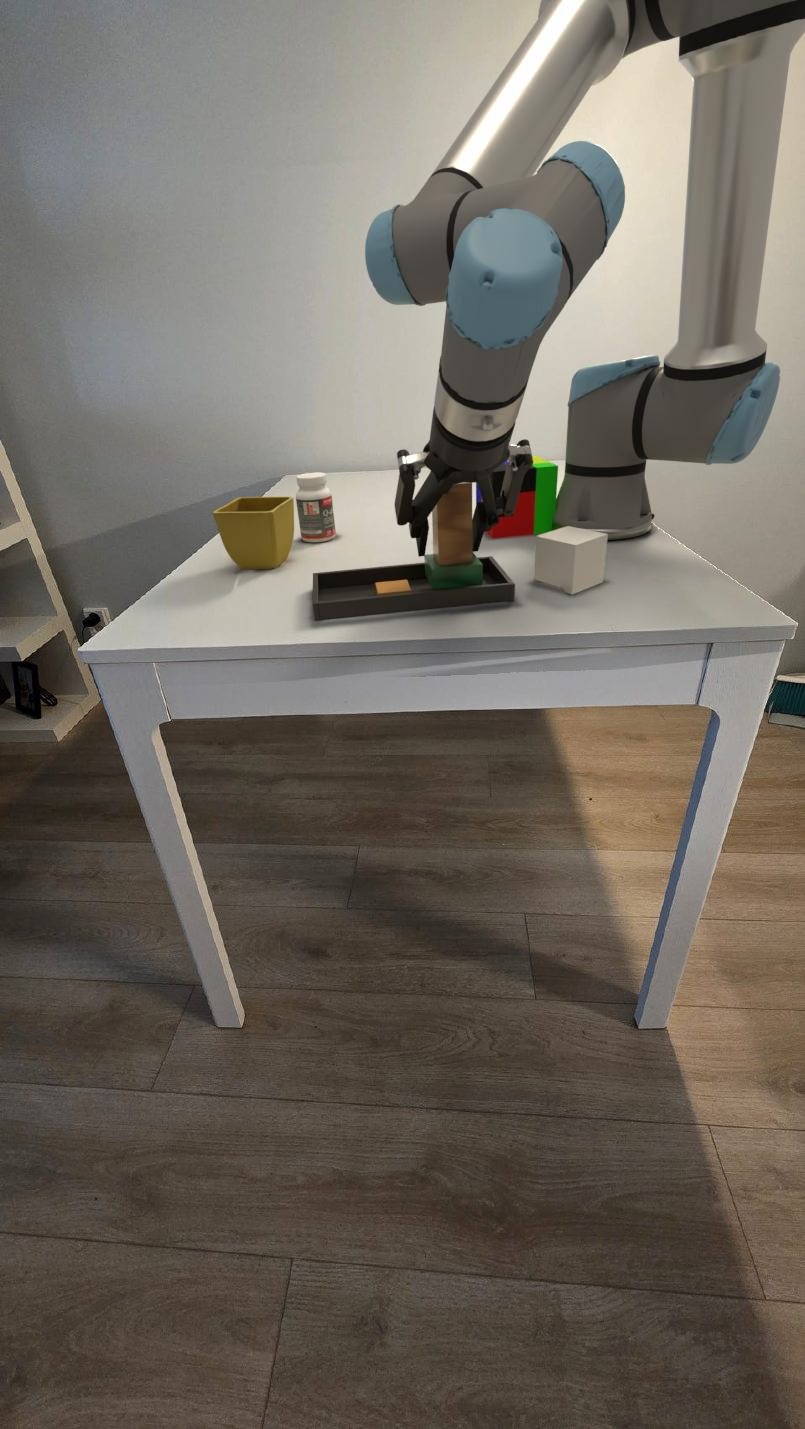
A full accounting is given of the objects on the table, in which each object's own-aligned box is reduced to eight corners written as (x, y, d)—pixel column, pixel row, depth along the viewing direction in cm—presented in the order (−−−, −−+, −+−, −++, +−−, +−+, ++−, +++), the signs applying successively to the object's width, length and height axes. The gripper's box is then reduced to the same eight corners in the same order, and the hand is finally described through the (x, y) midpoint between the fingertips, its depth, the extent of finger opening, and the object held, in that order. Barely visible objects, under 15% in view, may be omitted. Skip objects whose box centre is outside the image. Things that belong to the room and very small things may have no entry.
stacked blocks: (471, 569, 81) (471, 474, 75) (482, 585, 76) (483, 483, 70) (424, 574, 80) (420, 478, 75) (432, 590, 75) (428, 488, 70)
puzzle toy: (475, 524, 108) (476, 461, 103) (533, 518, 109) (536, 455, 104) (491, 539, 100) (492, 471, 94) (554, 533, 101) (558, 465, 95)
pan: (491, 575, 84) (491, 556, 83) (514, 605, 75) (515, 583, 74) (315, 592, 83) (312, 573, 81) (315, 625, 73) (312, 603, 72)
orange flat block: (407, 588, 80) (407, 579, 80) (411, 599, 77) (411, 590, 76) (375, 591, 80) (375, 582, 79) (378, 602, 77) (377, 593, 76)
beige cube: (533, 583, 81) (535, 536, 78) (564, 572, 84) (567, 525, 81) (572, 594, 77) (575, 544, 74) (603, 582, 80) (608, 533, 77)
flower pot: (281, 577, 89) (271, 511, 85) (224, 576, 91) (210, 511, 86) (303, 557, 97) (294, 496, 92) (249, 557, 98) (238, 497, 94)
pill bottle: (334, 542, 103) (326, 477, 98) (299, 544, 103) (289, 479, 98) (338, 532, 108) (331, 470, 103) (304, 534, 108) (295, 473, 103)
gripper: (374, 455, 56) (374, 578, 78) (586, 438, 57) (526, 564, 79) (365, 383, 57) (367, 524, 80) (570, 368, 59) (516, 511, 81)
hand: (446, 544), depth 80 cm, fingers closed on stacked blocks, 6 cm apart
